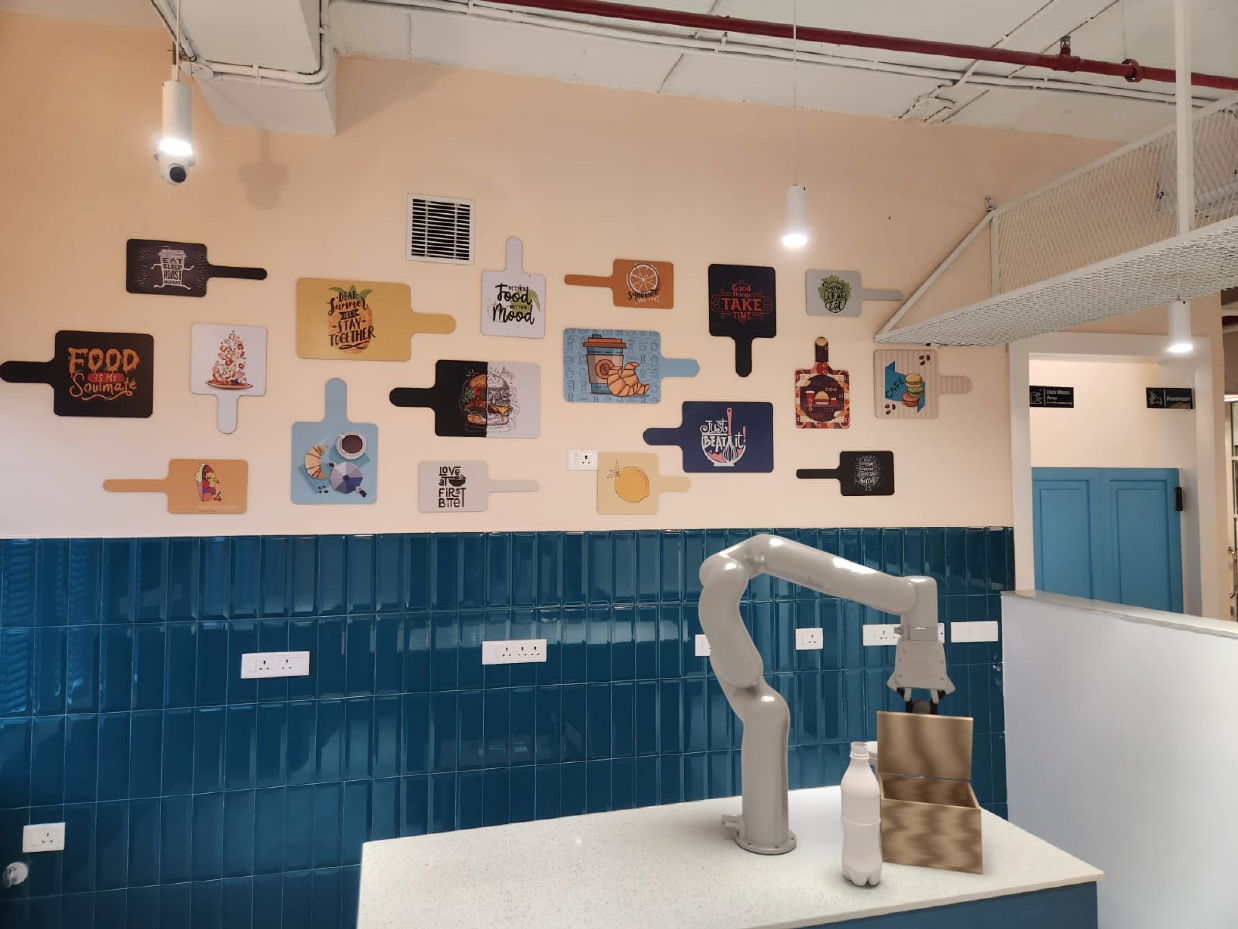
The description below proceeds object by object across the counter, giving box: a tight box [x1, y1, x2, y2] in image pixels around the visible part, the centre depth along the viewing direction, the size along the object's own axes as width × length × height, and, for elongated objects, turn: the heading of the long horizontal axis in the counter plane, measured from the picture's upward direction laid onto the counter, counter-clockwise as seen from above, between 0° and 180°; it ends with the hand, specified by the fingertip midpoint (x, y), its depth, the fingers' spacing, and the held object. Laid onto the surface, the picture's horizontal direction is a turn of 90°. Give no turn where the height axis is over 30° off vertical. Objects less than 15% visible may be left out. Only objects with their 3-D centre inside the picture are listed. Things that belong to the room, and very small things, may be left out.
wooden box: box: [879, 773, 984, 875], centre depth 154 cm, size 18×15×12 cm
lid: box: [876, 698, 974, 782], centre depth 162 cm, size 18×15×8 cm
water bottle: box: [839, 741, 883, 887], centre depth 143 cm, size 7×7×25 cm
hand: (921, 718), depth 163 cm, fingers closed on lid, 3 cm apart
